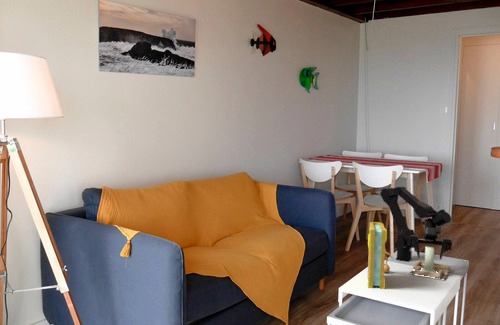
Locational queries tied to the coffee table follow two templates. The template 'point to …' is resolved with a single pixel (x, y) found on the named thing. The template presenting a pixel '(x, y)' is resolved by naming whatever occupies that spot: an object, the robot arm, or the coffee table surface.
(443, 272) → the keyhole board
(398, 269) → the coffee table surface
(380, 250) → the book
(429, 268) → the sage peg
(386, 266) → the figurine
